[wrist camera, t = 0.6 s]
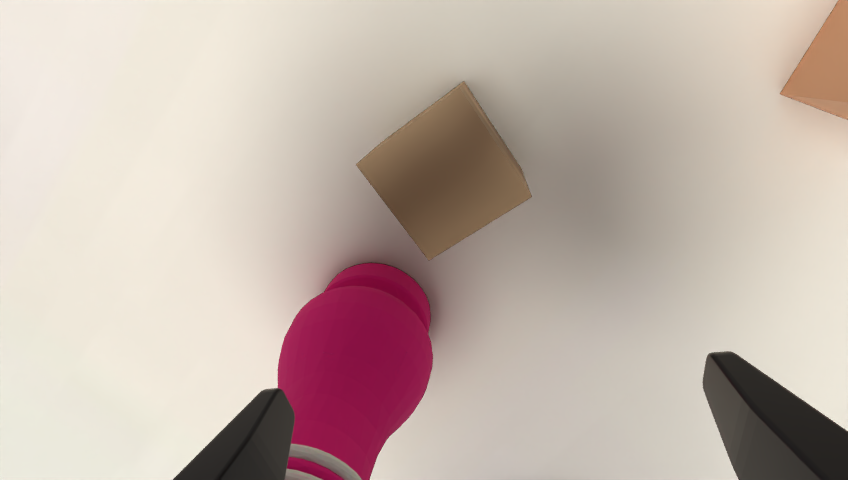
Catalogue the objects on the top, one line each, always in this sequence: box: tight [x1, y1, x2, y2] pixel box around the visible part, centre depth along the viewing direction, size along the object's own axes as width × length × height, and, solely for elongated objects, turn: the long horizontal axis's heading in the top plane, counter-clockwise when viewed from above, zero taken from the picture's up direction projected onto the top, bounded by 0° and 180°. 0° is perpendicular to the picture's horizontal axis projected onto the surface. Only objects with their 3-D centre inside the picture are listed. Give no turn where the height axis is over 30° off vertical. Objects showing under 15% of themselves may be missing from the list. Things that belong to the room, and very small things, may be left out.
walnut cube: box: [356, 81, 532, 260], centre depth 20 cm, size 5×5×5 cm
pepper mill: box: [278, 263, 433, 480], centre depth 17 cm, size 7×7×20 cm
